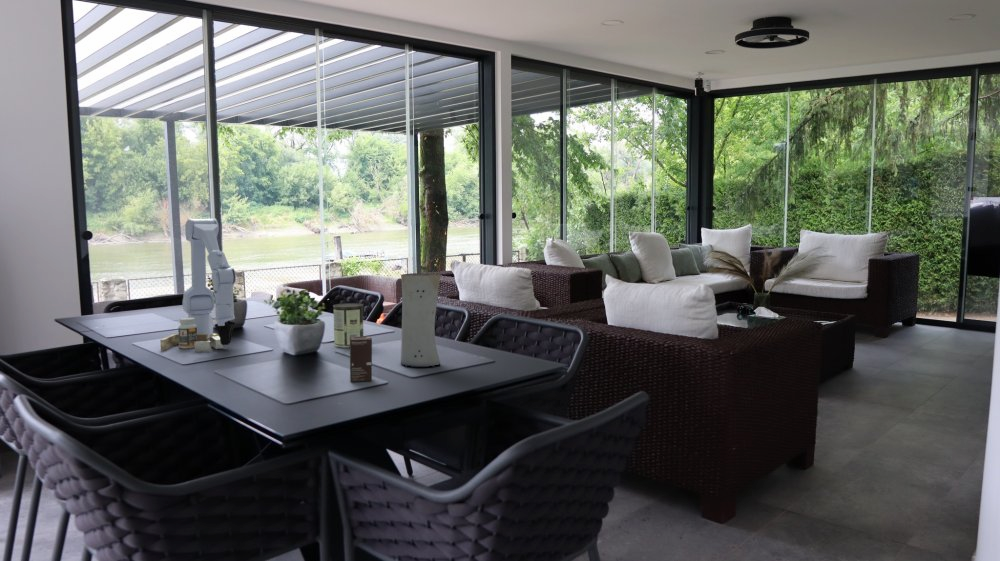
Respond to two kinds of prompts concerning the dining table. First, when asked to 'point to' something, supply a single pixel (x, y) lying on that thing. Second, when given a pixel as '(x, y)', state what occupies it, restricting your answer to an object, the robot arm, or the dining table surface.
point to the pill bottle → (187, 333)
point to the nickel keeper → (202, 346)
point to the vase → (419, 319)
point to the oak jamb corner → (174, 340)
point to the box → (360, 359)
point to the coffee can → (347, 323)
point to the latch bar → (215, 341)
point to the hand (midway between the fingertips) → (226, 344)
